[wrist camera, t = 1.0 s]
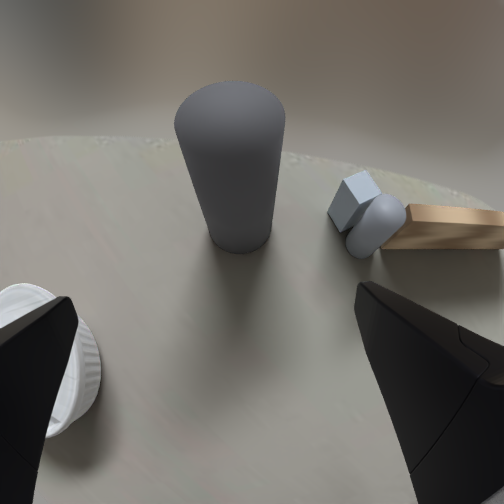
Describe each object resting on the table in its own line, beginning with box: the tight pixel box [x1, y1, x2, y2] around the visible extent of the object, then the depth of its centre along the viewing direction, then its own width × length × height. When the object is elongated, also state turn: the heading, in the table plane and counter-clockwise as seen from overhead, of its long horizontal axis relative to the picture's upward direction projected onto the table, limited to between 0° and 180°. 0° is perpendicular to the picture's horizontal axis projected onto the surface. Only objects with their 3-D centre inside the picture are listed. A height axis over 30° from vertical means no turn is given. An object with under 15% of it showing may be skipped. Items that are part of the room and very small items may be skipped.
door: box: [381, 204, 504, 249], centre depth 20 cm, size 14×2×6 cm, turn 90°
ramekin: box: [0, 283, 101, 439], centre depth 18 cm, size 11×11×5 cm
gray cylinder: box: [174, 81, 285, 254], centre depth 18 cm, size 5×5×12 cm
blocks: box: [327, 170, 406, 259], centre depth 17 cm, size 28×2×6 cm, turn 26°
